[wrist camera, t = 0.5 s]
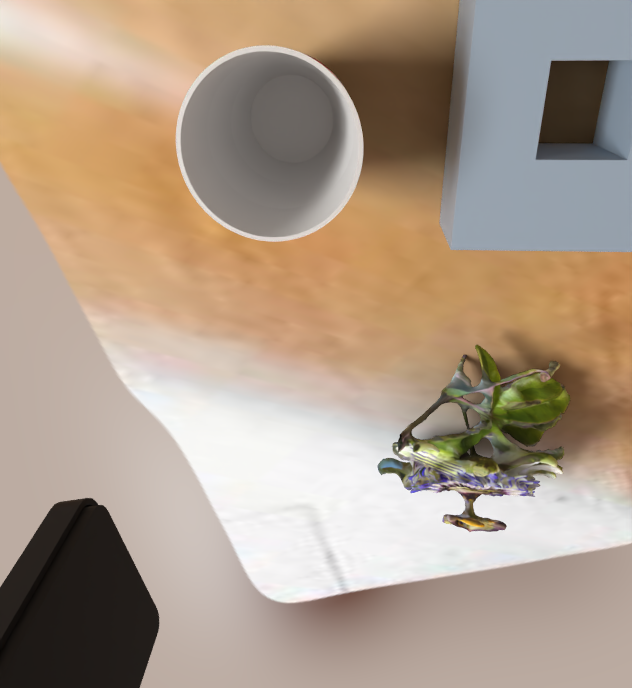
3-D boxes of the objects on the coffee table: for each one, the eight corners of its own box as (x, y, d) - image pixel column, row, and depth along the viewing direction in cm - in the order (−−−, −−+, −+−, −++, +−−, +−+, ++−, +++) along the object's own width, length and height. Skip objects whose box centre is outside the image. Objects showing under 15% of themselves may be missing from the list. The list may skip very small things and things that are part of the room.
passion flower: (445, 405, 49) (367, 512, 43) (438, 296, 43) (344, 402, 36) (588, 453, 43) (523, 588, 36) (605, 335, 36) (530, 473, 30)
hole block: (463, -47, 30) (482, -61, 26) (708, -51, 30) (770, -65, 25) (439, 223, 37) (450, 249, 32) (639, 225, 36) (679, 252, 32)
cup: (387, 142, 35) (398, 180, 26) (273, 215, 37) (248, 272, 28) (311, 9, 32) (294, 0, 23) (193, 97, 34) (137, 120, 25)
